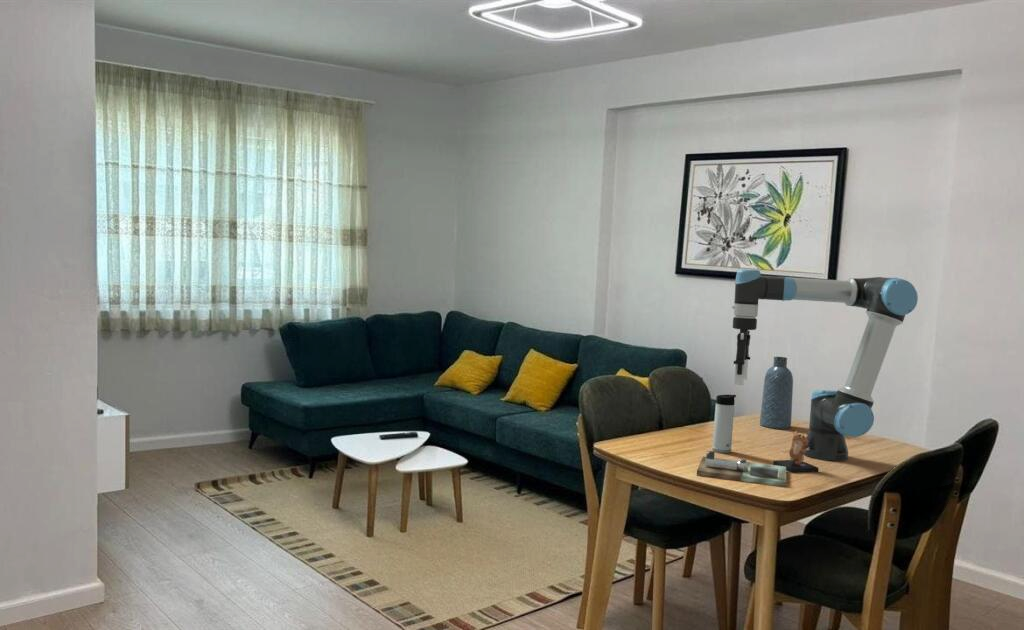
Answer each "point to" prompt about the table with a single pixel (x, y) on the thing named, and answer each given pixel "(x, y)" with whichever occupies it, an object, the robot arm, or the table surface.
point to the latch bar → (725, 462)
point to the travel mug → (723, 423)
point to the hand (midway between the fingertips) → (740, 381)
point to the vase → (777, 396)
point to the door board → (747, 473)
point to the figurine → (797, 456)
